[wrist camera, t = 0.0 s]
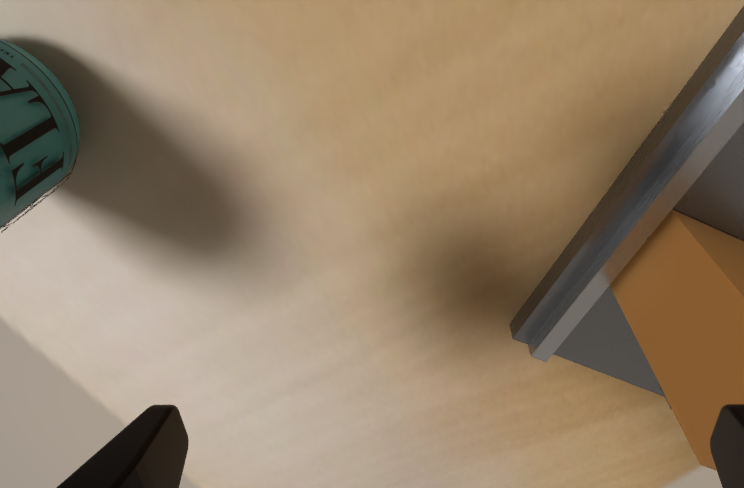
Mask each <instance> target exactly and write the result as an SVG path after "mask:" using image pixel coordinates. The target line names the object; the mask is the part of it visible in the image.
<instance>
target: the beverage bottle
mask: <svg viewBox="0 0 744 488" xmlns="http://www.w3.org/2000/svg"><path fill="white" fill-rule="evenodd" d="M79 144H80V125H79V121H78V116H77V113H76V110H75V107H74V105H73V103H72V101H71V99H70V97H69V95H68V94H67V92H66V90H65V89H64V87H63V86H62V85H61V83H60V82H59V80H58V79H57V78H56V77H55V76H54V75H53V73H52V72H51V71H50V70H49V69H48V68H47V67H46V66H45V65H44V64H42V63H41V62H40V61H39V60H38V59H36V58H35V57H34V56H33V55H31V54H30V53H28V52H27V51H25V50H24V49H22V48H20V47H18V46H16V45H14V44H13V43H11V42H8V41H6V40H3V39H0V229H1V227H2V226H3V227H5V224H6V223H7V222H8V223H9V222H10V220H11V219H12V220H13V219H14V217H15V216H16V215H17V216H18V215H19V213H20V212H21V213H22V212H23V211H24V209H25V208H26V209H27V208H28V206H29V205H30V206H31V205H33V204H34V203H35V202H36V201H37V199H38V198H39V199H40V197H41V196H42V195H43V194H45V193H46V192H47V191H49V190H50V189H51V188H52V187H54V186H55V185H56V184H58V183H59V182H60V181H61V180H63V179H64V178H65V177H64V176H65V175H66V174H67V173H68V171H69V170H70V168H71V166H72V164H73V162H74V160H75V162H76V157H77V153H78V149H79ZM74 165H75V163H74ZM73 168H74V166H73ZM73 168H72V170H73ZM71 172H72V171H71ZM70 174H71V173H70ZM68 175H69V174H68ZM68 175H67V176H68ZM67 176H66V177H67ZM69 176H70V175H69ZM69 176H68V177H69ZM67 179H68V178H67ZM62 185H63V184H62ZM62 185H61V186H62ZM57 187H58V186H57ZM53 190H54V189H53ZM56 190H57V189H56ZM53 192H54V191H53ZM53 192H51V193H53ZM51 193H50V194H51ZM50 194H49V195H50ZM49 195H47V196H46V195H45V196H46V197H48V196H49ZM43 197H44V196H43ZM46 197H45V198H46ZM45 198H43V199H45ZM43 199H42V200H43ZM42 200H40V201H42ZM40 201H39V203H40ZM37 205H38V202H37ZM34 206H36V204H35V205H33V206H31V207H34ZM31 207H30V208H31ZM26 209H25V210H26ZM30 210H31V209H30ZM27 212H29V211H26V213H27ZM26 213H25V214H26ZM17 216H16V217H17ZM23 216H24V215H23ZM19 218H20V217H19ZM17 220H19V219H17ZM15 222H16V221H15ZM15 222H13V223H15ZM8 223H7V224H8ZM11 224H12V223H11ZM9 225H10V224H9ZM6 226H7V225H6ZM10 226H11V225H10ZM3 227H2V228H3ZM8 227H9V226H8ZM6 229H7V228H6ZM6 229H4V231H5V230H6ZM1 233H2V231H1Z"/></svg>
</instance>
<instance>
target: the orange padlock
mask: <svg viewBox="0 0 744 488" xmlns="http://www.w3.org/2000/svg"><path fill="white" fill-rule="evenodd" d="M609 286H610V288H611V290H612V291H613V293H614V295H615V297H616V299H617V301H618V303H619V305H620V307H621V309H622V311H623V313H624V315H625V317H626V319H627V321H628V323H629V325H630V327H631V329H632V331H633V333H634V335H635V337H636V339H637V341H638V343H639V345H640V347H641V349H642V351H643V353H644V354H645V356H646V358H647V360H648V362H649V364H650V366H651V368H652V370H653V372H654V374H655V376H656V378H657V380H658V382H659V384H660V386H661V388H662V390H663V392H664V394H665V396H666V398H667V400H668V402H669V404H670V406H671V408H672V410H673V412H674V414H675V416H676V417H677V419H678V421H679V423H680V425H681V427H682V429H683V431H684V433H685V435H686V437H687V439H688V441H689V443H690V445H691V447H692V449H693V451H694V453H695V455H696V457H697V459H698V461H699V463H700V465H703V466H706V467H708V468H711V469H714V470H717V469H716V466H715V463H714V460H713V457H712V454H711V450H710V438H711V435H712V432H713V429H714V426H715V424H716V421H717V418H718V415H719V413H720V410H721V408H722V407H723V406H725V405H727V404H744V241H742V240H740V239H737V238H735V237H733V236H731V235H728V234H726V233H724V232H722V231H719V230H717V229H715V228H713V227H710V226H708V225H706V224H704V223H701V222H699V221H697V220H695V219H692V218H690V217H688V216H686V215H683V214H681V213H679V212H677V211H674V210H671V211H670V212H669V213H668V215H667V216H666V217H665V218H664V220H663V221H662V222H661V223H660V224H659V226H658V227H657V228H656V229H655V231H654V232H653V233H652V234H651V235H650V237H649V238H648V239H647V240H646V241H645V243H644V244H643V245H642V246H641V248H640V249H639V250H638V251H637V252H636V254H635V255H634V256H633V257H632V258H631V260H630V261H629V262H628V263H627V265H626V266H625V267H624V268H623V269H622V271H621V272H620V273H619V274H618V275H617V277H616V278H615V279H614V280H613V282H612V283H611V284H610V285H609Z"/></svg>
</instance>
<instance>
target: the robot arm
mask: <svg viewBox="0 0 744 488" xmlns="http://www.w3.org/2000/svg"><path fill="white" fill-rule="evenodd" d="M710 450H711V454H712V457H713V460H714V463H715V466H716V469H717V472H718V475H719V478H720V481H721V484H722V487H723V488H744V404H727V405H725V406H723V407H722V408H721V410H720V413H719V415H718V418H717V421H716V424H715V426H714V429H713V432H712V435H711V438H710ZM187 451H188V435H187V432H186V429H185V427H184V424H183V421H182V418H181V416H180V413H179V410H178V408H177V407H176V406H174V405H153V406H151V407H149V408H147V409H146V410H145V411H144V412H143V413H142V414H140V415H139V416H138V417H137V418H136V419H135V420H134V421H132V422H131V423H130V424H129V425H128V426H127V427H126V428H124V429H123V430H122V431H121V432H120V433H119V434H118V435H116V436H115V437H114V438H113V439H112V440H111V441H109V442H108V443H107V444H106V445H105V446H104V447H103V448H102V449H100V450H99V451H98V452H97V453H96V454H95V455H93V456H92V457H91V458H90V459H89V460H88V461H87V462H85V463H84V464H83V465H82V466H81V467H80V468H79V469H77V470H76V471H75V472H74V473H73V474H72V475H71V476H69V477H68V478H67V479H66V480H65V481H64V482H63V483H61V484H60V485H59V486H58V487H57V488H179V485H180V480H181V476H182V472H183V468H184V464H185V459H186V455H187Z"/></svg>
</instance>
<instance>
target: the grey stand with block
mask: <svg viewBox="0 0 744 488" xmlns="http://www.w3.org/2000/svg"><path fill="white" fill-rule="evenodd" d="M671 210H674V211H677V212H679V213H681V214H683V215H686V216H688V217H690V218H692V219H695V220H697V221H699V222H701V223H704V224H706V225H708V226H710V227H713V228H715V229H717V230H719V231H722V232H724V233H726V234H728V235H731V236H733V237H735V238H737V239H740V240H742V241H744V7H743V8H742V9H741V11H740V12H739V13H738V15H737V16H736V17H735V19H734V20H733V22H732V23H731V24H730V26H729V27H728V28H727V30H726V31H725V32H724V34H723V35H722V37H721V38H720V39H719V41H718V42H717V43H716V45H715V46H714V47H713V49H712V50H711V51H710V53H709V54H708V56H707V57H706V58H705V60H704V61H703V62H702V64H701V65H700V66H699V68H698V69H697V71H696V72H695V73H694V75H693V76H692V77H691V79H690V80H689V81H688V83H687V84H686V85H685V87H684V88H683V90H682V91H681V92H680V94H679V95H678V96H677V98H676V99H675V100H674V102H673V103H672V105H671V106H670V107H669V109H668V110H667V111H666V113H665V114H664V115H663V117H662V118H661V119H660V121H659V122H658V124H657V125H656V126H655V128H654V129H653V130H652V132H651V133H650V134H649V136H648V137H647V139H646V140H645V141H644V143H643V144H642V145H641V147H640V148H639V149H638V151H637V152H636V153H635V155H634V156H633V158H632V159H631V160H630V162H629V163H628V164H627V166H626V167H625V168H624V170H623V171H622V173H621V174H620V175H619V177H618V178H617V179H616V181H615V182H614V183H613V185H612V186H611V187H610V189H609V190H608V192H607V193H606V194H605V196H604V197H603V198H602V200H601V201H600V202H599V204H598V205H597V207H596V208H595V209H594V211H593V212H592V213H591V215H590V216H589V217H588V219H587V220H586V222H585V223H584V224H583V226H582V227H581V228H580V230H579V231H578V232H577V234H576V235H575V236H574V238H573V239H572V241H571V242H570V243H569V245H568V246H567V247H566V249H565V250H564V251H563V253H562V254H561V256H560V257H559V258H558V260H557V261H556V262H555V264H554V265H553V266H552V268H551V269H550V270H549V272H548V273H547V275H546V276H545V277H544V279H543V280H542V281H541V283H540V284H539V285H538V287H537V288H536V290H535V291H534V292H533V294H532V295H531V296H530V298H529V299H528V300H527V302H526V303H525V304H524V306H523V307H522V309H521V310H520V311H519V313H518V314H517V315H516V317H515V318H514V319H513V321H512V322H511V324H510V328H511V333H512V337H513V339H515V340H518V341H520V342H523V343H526V344H528V347H529V351H530V354H531V356H532V357H534V358H537V359H540V360H542V361H545V362H547V361H548V359H549V358H550V357H551V356H552V355H553V354H555V355H557V356H560V357H562V358H565V359H568V360H570V361H573V362H575V363H578V364H581V365H583V366H586V367H589V368H591V369H594V370H596V371H599V372H602V373H604V374H607V375H610V376H612V377H615V378H617V379H620V380H623V381H625V382H628V383H631V384H633V385H636V386H638V387H641V388H644V389H646V390H649V391H652V392H654V393H657V394H659V395H662V396H664V397H665V399H666V401H667V403H668V405H669V407H670V408H671V406H670V404H669V402H668V400H667V398H666V396H665V394H664V392H663V390H662V388H661V386H660V384H659V382H658V380H657V378H656V376H655V374H654V372H653V370H652V368H651V366H650V364H649V362H648V360H647V358H646V356H645V354H644V353H643V351H642V349H641V347H640V345H639V343H638V341H637V339H636V337H635V335H634V333H633V331H632V329H631V327H630V325H629V323H628V321H627V319H626V317H625V315H624V313H623V311H622V309H621V307H620V305H619V303H618V301H617V299H616V297H615V295H614V293H613V291H612V290H611V288H610V286H609V285H610V284H611V283H612V282H613V280H614V279H615V278H616V277H617V275H618V274H619V273H620V272H621V271H622V269H623V268H624V267H625V266H626V265H627V263H628V262H629V261H630V260H631V258H632V257H633V256H634V255H635V254H636V252H637V251H638V250H639V249H640V248H641V246H642V245H643V244H644V243H645V241H646V240H647V239H648V238H649V237H650V235H651V234H652V233H653V232H654V231H655V229H656V228H657V227H658V226H659V224H660V223H661V222H662V221H663V220H664V218H665V217H666V216H667V215H668V213H669V212H670V211H671ZM671 409H672V408H671Z"/></svg>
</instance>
